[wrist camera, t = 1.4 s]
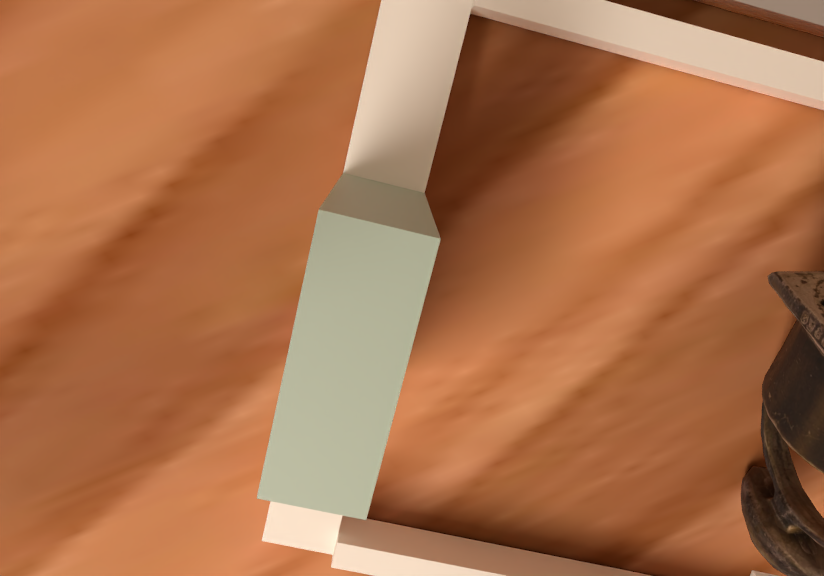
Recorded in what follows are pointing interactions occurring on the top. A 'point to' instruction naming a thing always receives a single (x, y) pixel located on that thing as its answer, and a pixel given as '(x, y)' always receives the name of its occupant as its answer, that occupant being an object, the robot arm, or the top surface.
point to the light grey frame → (428, 272)
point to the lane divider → (779, 12)
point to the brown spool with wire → (791, 436)
